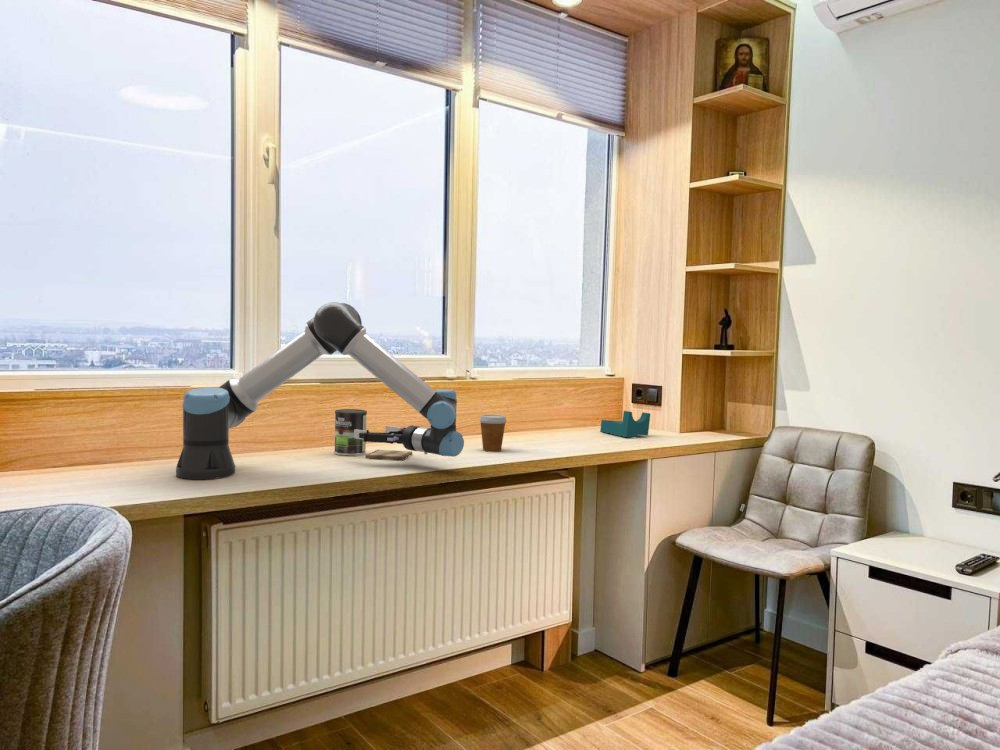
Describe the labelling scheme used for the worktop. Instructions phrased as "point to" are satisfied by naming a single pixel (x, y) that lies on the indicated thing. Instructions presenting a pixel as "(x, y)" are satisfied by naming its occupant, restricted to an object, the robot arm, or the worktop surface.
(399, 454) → the trivet
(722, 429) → the worktop surface
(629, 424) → the teal l-shaped bracket
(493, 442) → the disposable coffee cup
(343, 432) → the coffee can
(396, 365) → the robot arm
